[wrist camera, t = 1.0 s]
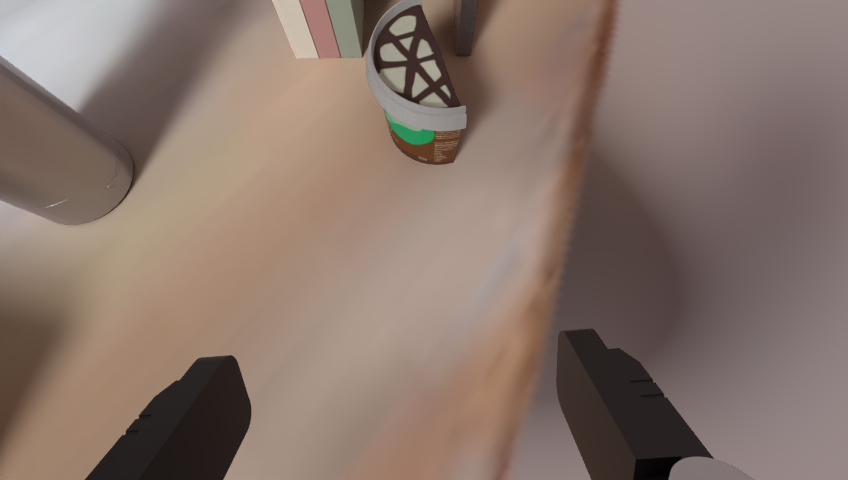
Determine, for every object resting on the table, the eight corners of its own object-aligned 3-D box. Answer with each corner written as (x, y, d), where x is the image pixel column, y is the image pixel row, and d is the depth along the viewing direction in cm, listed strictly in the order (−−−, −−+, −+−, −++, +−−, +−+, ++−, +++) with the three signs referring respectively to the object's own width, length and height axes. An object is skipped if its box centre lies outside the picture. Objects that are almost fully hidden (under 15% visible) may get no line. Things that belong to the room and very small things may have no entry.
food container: (363, 88, 42) (345, 5, 32) (420, 73, 42) (419, -13, 33) (396, 192, 38) (386, 134, 29) (458, 175, 39) (468, 112, 29)
